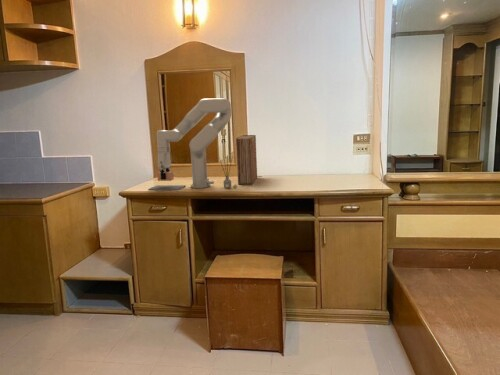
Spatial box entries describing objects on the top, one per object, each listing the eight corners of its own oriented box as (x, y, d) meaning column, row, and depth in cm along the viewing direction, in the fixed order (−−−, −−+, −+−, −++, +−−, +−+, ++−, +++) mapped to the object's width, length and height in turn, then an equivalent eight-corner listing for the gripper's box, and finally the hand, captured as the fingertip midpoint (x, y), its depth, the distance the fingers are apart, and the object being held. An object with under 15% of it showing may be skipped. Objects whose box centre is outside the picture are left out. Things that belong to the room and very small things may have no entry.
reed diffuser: (220, 189, 238) (218, 156, 235) (221, 187, 245) (219, 155, 241) (236, 188, 238) (235, 156, 235) (237, 186, 245) (235, 154, 241)
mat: (185, 186, 252) (185, 185, 252) (178, 190, 240) (178, 189, 240) (156, 186, 256) (156, 185, 256) (148, 190, 245) (148, 189, 245)
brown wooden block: (252, 184, 249) (250, 137, 244) (237, 184, 251) (235, 137, 245) (257, 177, 274) (255, 134, 268) (244, 178, 275) (242, 135, 270)
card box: (160, 179, 250) (160, 171, 249) (173, 179, 249) (173, 171, 248) (157, 180, 245) (157, 172, 244) (170, 180, 244) (170, 172, 243)
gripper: (164, 148, 253) (166, 176, 256) (152, 151, 236) (154, 180, 240) (175, 148, 251) (176, 176, 254) (163, 151, 234) (165, 180, 238)
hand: (165, 178), depth 247 cm, fingers closed on card box, 5 cm apart
